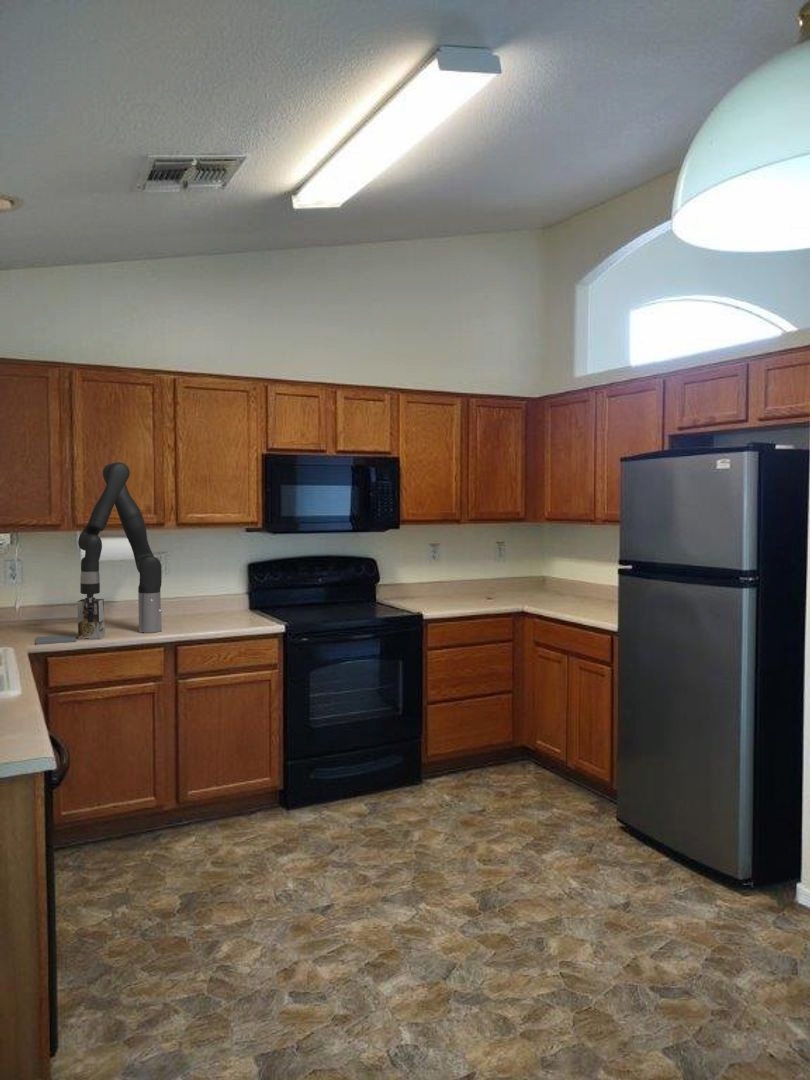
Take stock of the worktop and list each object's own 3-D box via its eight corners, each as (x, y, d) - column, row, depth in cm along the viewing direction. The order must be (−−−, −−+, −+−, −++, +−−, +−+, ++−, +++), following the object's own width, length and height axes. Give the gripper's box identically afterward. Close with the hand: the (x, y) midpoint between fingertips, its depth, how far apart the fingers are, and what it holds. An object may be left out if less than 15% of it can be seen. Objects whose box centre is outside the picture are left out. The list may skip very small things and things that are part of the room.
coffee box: (105, 636, 330) (104, 598, 329) (99, 639, 324) (99, 600, 323) (83, 636, 330) (82, 598, 329) (77, 639, 324) (76, 600, 323)
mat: (75, 636, 331) (75, 634, 331) (76, 641, 318) (76, 640, 318) (36, 638, 325) (36, 637, 325) (35, 644, 312) (35, 643, 312)
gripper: (100, 583, 321) (100, 622, 321) (99, 580, 334) (99, 617, 335) (80, 584, 318) (80, 623, 319) (80, 580, 331) (80, 618, 332)
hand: (90, 620), depth 327 cm, fingers open, 8 cm apart
